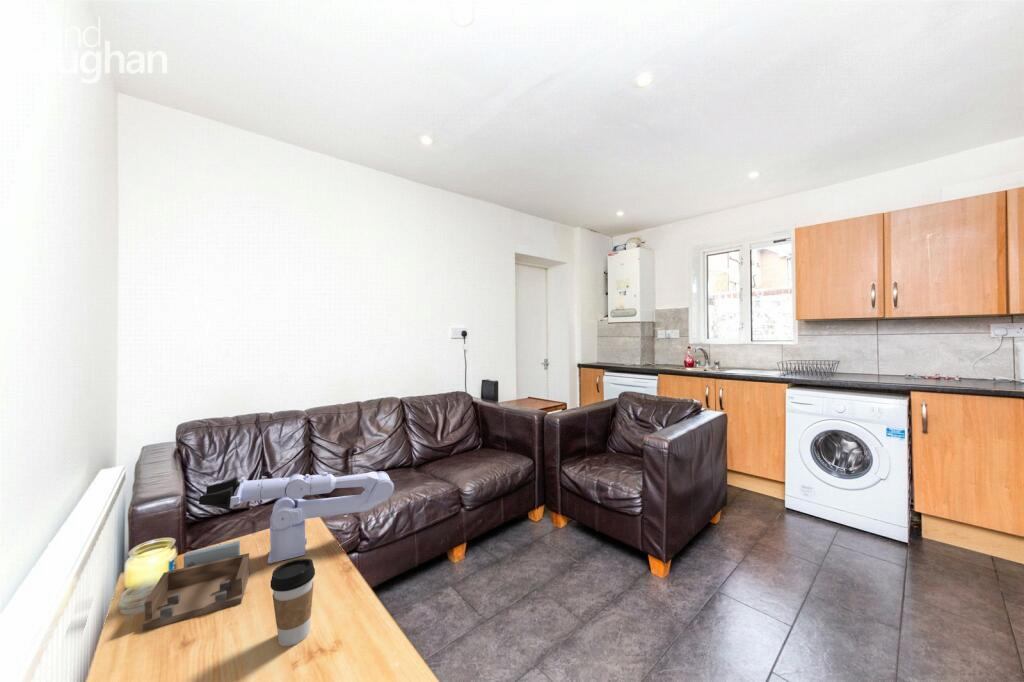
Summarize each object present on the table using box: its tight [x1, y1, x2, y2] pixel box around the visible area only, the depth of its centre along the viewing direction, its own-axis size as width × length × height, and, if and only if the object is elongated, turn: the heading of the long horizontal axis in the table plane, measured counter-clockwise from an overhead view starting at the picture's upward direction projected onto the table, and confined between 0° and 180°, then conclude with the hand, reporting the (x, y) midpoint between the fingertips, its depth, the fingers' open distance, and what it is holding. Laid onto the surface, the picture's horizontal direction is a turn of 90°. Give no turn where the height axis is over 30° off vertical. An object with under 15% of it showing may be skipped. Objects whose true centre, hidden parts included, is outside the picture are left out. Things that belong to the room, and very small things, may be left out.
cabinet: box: [142, 552, 251, 632], centre depth 95 cm, size 18×14×6 cm
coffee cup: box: [270, 558, 316, 647], centre depth 82 cm, size 8×8×15 cm
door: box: [183, 540, 241, 568], centre depth 105 cm, size 12×3×7 cm, turn 118°
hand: (203, 495), depth 105 cm, fingers open, 7 cm apart
